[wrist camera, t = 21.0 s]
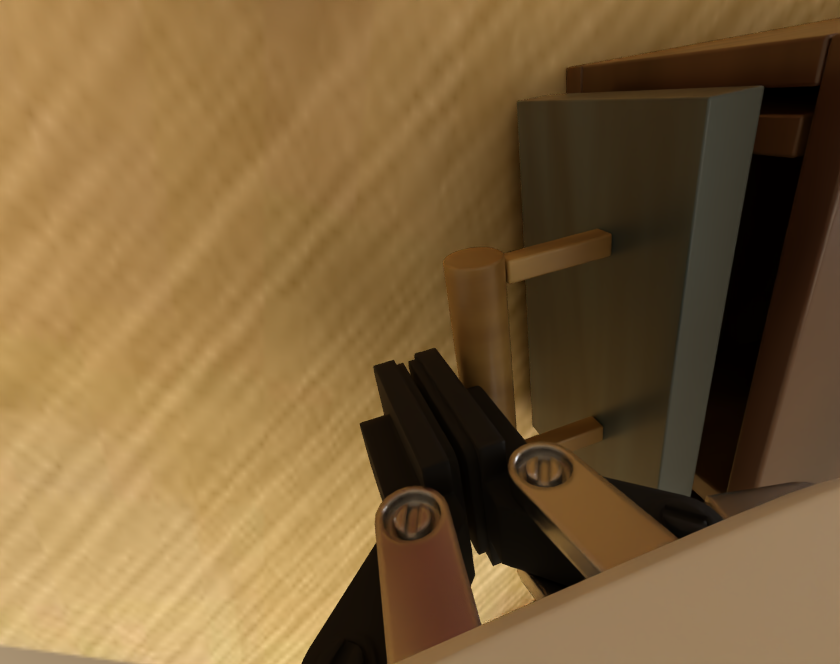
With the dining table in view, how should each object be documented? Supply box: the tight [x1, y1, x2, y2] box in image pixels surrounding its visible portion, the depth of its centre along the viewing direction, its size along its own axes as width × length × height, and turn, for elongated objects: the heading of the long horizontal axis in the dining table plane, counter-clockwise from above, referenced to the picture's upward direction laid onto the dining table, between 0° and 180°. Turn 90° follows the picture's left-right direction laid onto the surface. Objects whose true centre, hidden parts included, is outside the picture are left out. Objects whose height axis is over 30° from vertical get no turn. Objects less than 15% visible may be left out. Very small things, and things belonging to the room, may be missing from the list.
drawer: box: [443, 85, 820, 500], centre depth 15 cm, size 19×12×7 cm, turn 100°
